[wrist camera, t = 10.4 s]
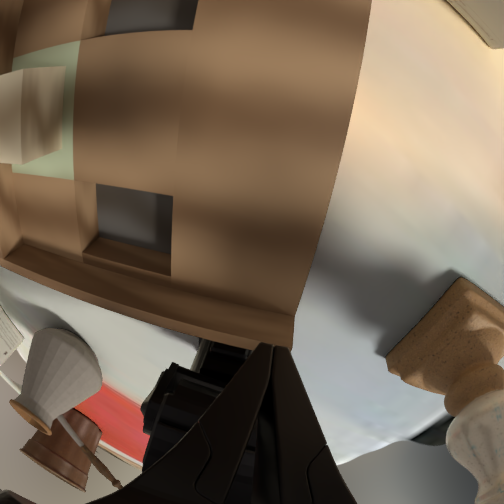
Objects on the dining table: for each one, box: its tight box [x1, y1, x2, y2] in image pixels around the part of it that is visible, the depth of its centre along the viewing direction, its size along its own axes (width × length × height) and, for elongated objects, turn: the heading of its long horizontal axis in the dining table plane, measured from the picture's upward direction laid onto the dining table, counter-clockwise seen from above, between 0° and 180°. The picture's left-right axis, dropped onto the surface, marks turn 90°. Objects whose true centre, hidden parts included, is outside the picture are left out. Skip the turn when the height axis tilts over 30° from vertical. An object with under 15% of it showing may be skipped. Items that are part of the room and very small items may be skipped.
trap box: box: [0, 0, 372, 352], centre depth 15 cm, size 26×26×6 cm
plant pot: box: [20, 409, 102, 492], centre depth 43 cm, size 16×16×16 cm
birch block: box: [0, 66, 66, 165], centre depth 14 cm, size 6×6×4 cm
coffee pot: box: [10, 328, 123, 489], centre depth 28 cm, size 21×12×15 cm, turn 49°
